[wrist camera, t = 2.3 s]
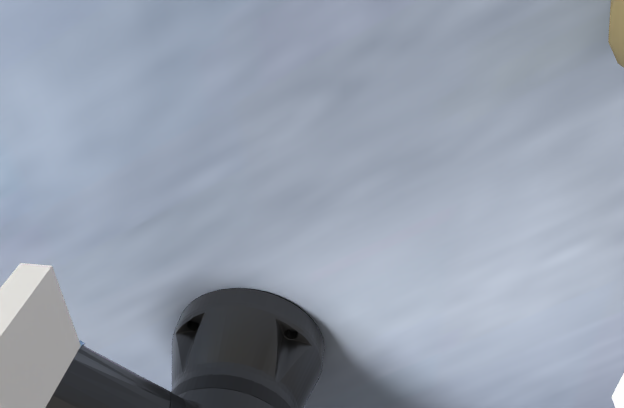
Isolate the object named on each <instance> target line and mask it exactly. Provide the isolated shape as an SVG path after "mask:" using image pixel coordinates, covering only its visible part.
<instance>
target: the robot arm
mask: <svg viewBox="0 0 624 408" xmlns="http://www.w3.org/2000/svg"><path fill="white" fill-rule="evenodd" d="M84 344H85V343H84V342H82V341H79V339H78V337H77V334H76V331H75V328H74V326H73V323H72V320H71V317H70V314H69V312H68V309H67V306H66V303H65V301H64V298H63V295H62V292H61V289H60V287H59V284H58V281H57V278H56V275H55V273H54V270H53V267H52V266H48V265H36V264H24V263H20V264H19V265H18V267H17V268H16V269H15V270H14V272H13V273H12V274H11V275H10V277H9V278H8V279H7V280H6V282H5V283H4V284H3V285H2V287H1V288H0V408H303V407H304V405H305V403H306V401H307V399H308V397H309V396H310V394H311V392H312V390H313V388H314V386H315V385H316V383H317V381H318V379H319V376H320V373H321V370H322V363H323V355H324V342H323V338H322V335H321V333H320V330H319V329H318V327H317V325H316V324H315V323H314V321H313V320H312V319H311V318H310V317H309V316H308V315H307V314H306V313H305V312H304V311H303V310H301V309H300V308H299V307H297V306H296V305H294V304H292V303H291V302H289V301H287V300H285V299H283V298H281V297H278V296H276V295H273V294H270V293H266V292H263V291H258V290H252V289H240V288H233V289H223V290H217V291H213V292H210V293H207V294H205V295H202V296H200V297H199V298H197V299H195V300H194V301H193V302H191V303H190V304H189V305H188V306H187V307H186V308H185V310H184V311H183V313H182V315H181V317H180V319H179V322H178V324H177V327H176V329H175V332H174V335H173V341H172V391H171V392H170V391H168V390H166V389H164V388H162V387H160V386H158V385H157V384H155V383H153V382H151V381H149V380H147V379H145V378H143V377H141V376H139V375H137V374H135V373H134V372H132V371H130V370H128V369H126V368H124V367H122V366H120V365H119V364H117V363H115V362H113V361H111V360H109V359H107V358H106V357H104V356H102V355H100V354H98V353H96V352H94V351H92V350H91V349H89V348H87V347H85V346H83V345H84ZM612 399H613V402H614V405H615V407H616V408H624V374H623V376H622V378H621V380H620V381H619V383H618V385H617V387H616V389H615V391H614V393H613V395H612Z"/></svg>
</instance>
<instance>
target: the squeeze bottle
mask: <svg viewBox="0 0 624 408" xmlns="http://www.w3.org/2000/svg"><path fill="white" fill-rule="evenodd" d="M608 42H609V44H610V46H611V49H612V51H613V53H614V55H615V58H616V60H617V62H618V64H620V65H621V66H622V67H624V0H611V8H610V25H609V41H608Z"/></svg>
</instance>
